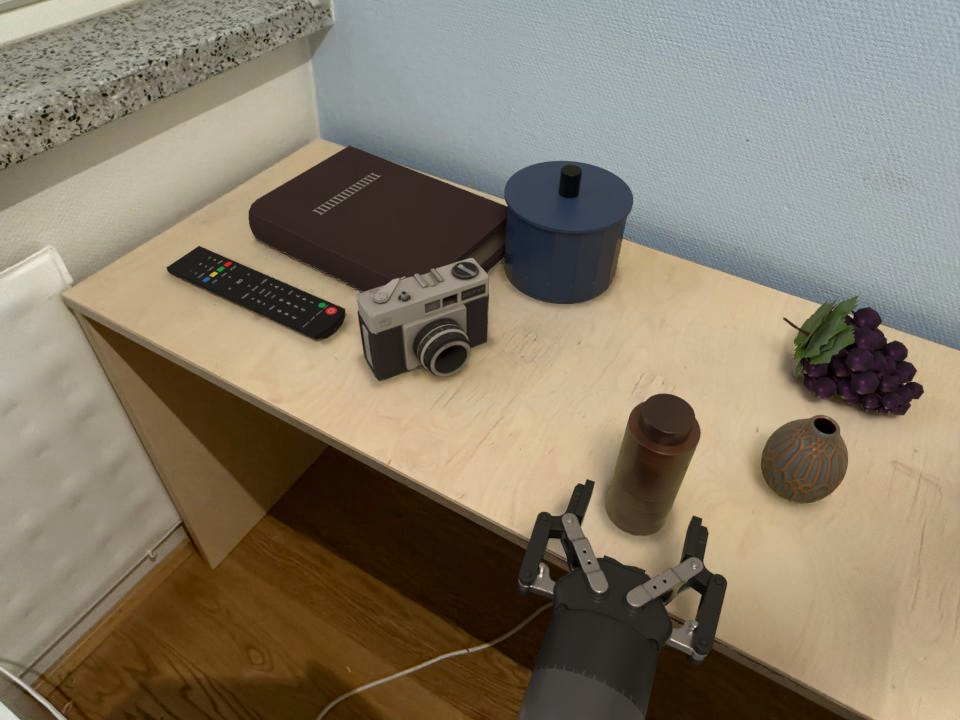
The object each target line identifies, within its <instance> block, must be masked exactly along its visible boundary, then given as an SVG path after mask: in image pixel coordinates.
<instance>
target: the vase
mask: <svg viewBox="0 0 960 720" xmlns="http://www.w3.org/2000/svg"><path fill="white" fill-rule="evenodd" d="M848 466H849V450H848V447H847V444H846V443H845V440H844V439H843V437H842V434H841V427H840V425H839V423H838V422H837V420H835V419H834V418H832V417H831V416H829V415H824V414H816V415H813V416H812V417H809V418H808V417H807V418H799V419H793V420H790V421H788V422H786V423H784V424H782V425H780V427H778V428H777V429H776V430H775V431H774V432H773V433H772V434H771V435H770V436H769V437H768V439H767V440H766V442H765V444H764V446H763V449H762V452H761V455H760V471H761V475H762V477H763V479H764V480H763V481H765V483H766V485H767V487H768V488H769V489H770V490H771V491H772V492H773V493H774V494H776V495H777V496H778V497H780V498H781V499H784V500H786V501H788V502H791V503H795V504H812V503H813V504H814V503H816V502H820V501H821V500H823V499H825V498H827V497H829V496H830V495H832V494H833V493H834V492H835V491H836V490H837V489H838V488H839V486H840V485H841V484H842V482H843V480H844V479H845V477H846V474H847V471H848Z"/></svg>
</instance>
